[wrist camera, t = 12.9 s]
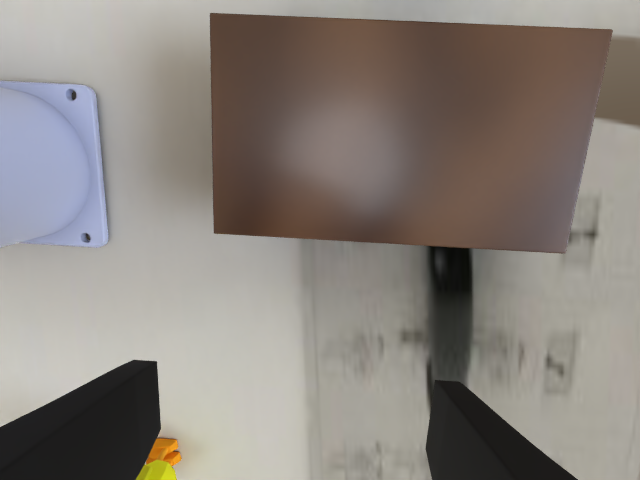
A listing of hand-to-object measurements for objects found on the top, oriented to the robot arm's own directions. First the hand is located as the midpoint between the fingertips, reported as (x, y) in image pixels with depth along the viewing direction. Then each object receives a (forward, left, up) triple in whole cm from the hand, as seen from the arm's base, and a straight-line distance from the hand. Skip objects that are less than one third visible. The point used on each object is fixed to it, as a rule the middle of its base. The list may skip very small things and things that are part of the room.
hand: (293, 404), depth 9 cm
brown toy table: (+3, +7, -10) cm, 13 cm away
